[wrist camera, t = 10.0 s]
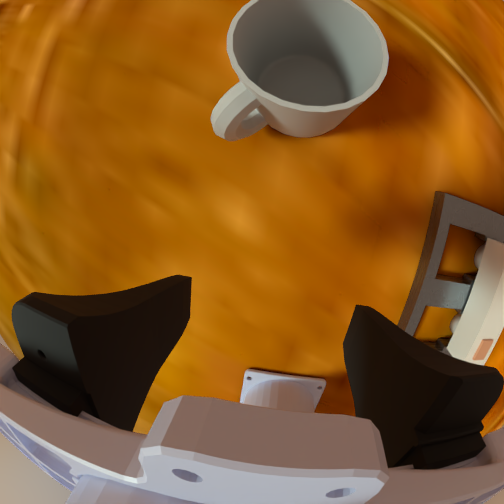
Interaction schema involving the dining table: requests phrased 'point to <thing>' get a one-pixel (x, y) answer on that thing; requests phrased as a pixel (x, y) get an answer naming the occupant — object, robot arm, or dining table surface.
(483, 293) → the power strip
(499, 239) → the keyhole plate
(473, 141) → the dining table surface
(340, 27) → the cup
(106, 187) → the dining table surface
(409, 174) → the dining table surface
